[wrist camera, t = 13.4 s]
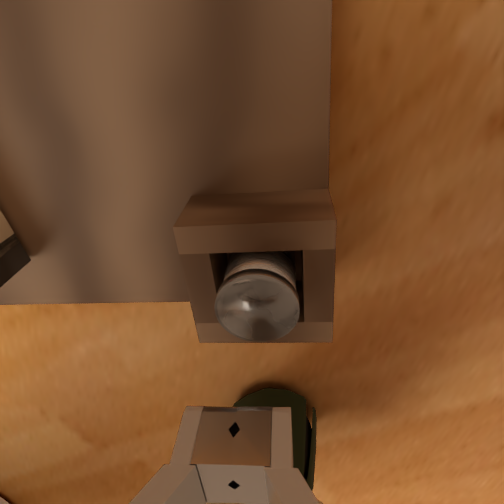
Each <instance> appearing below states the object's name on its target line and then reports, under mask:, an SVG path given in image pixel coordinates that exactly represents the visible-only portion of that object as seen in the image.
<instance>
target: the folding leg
mask: <svg viewBox="0 0 504 504" xmlns="http://www.w3.org/2000/svg"><path fill="white" fill-rule="evenodd" d="M30 261H31V259H30V258H29V256H28V254H27V253H26V251H25V249H24V248H23V246H22V245H21V243H20V241H19V240H18V238H17V236H16V235H15V233H14V232H13V230H12V228H11V227H10V225H9V223H8V222H7V220H6V218H5V217H4V215H3V214H2V212H1V210H0V287H2V286H3V285H4V284H5V283H6V282H7V281H8V280H10V279H11V278H12V277H13V276H14V275H15V274H16V273H17V272H19V271H20V270H21V269H22V268H23V267H24V266H25V265H27V264H28V263H29V262H30Z"/></svg>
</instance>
